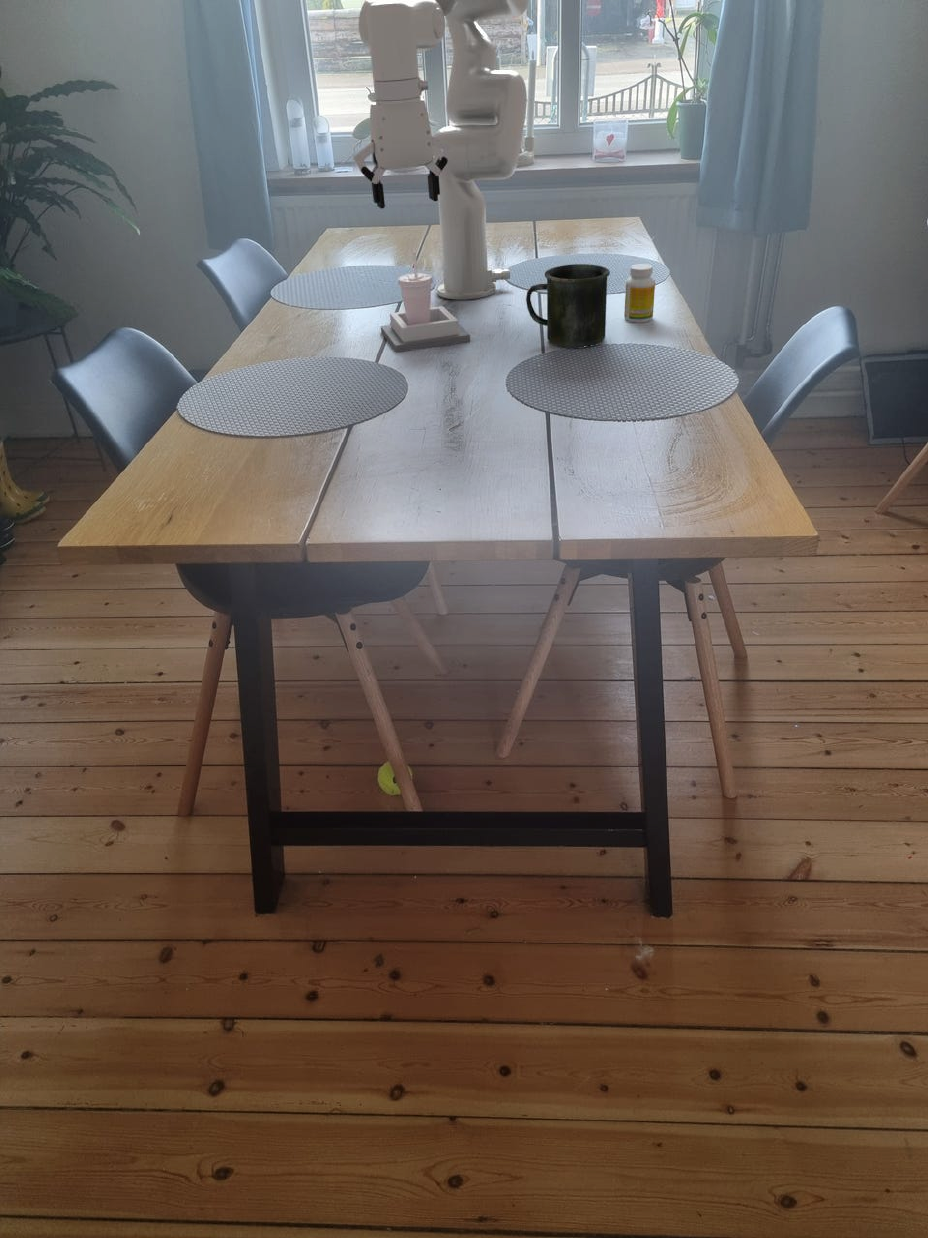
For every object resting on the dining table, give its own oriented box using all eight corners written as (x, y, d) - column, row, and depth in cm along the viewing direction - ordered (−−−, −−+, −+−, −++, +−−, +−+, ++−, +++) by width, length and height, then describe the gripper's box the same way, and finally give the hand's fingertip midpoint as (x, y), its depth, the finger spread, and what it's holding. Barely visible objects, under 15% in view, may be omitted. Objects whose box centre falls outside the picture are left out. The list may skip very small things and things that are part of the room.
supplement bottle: (618, 318, 173) (620, 265, 167) (641, 313, 175) (644, 261, 169) (635, 325, 169) (638, 271, 163) (658, 319, 171) (662, 266, 165)
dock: (451, 322, 176) (449, 302, 174) (470, 341, 166) (469, 320, 164) (381, 332, 174) (379, 312, 172) (396, 352, 163) (394, 331, 161)
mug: (606, 350, 158) (609, 279, 151) (523, 350, 160) (522, 280, 153) (608, 331, 167) (610, 263, 160) (529, 331, 169) (528, 264, 162)
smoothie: (441, 326, 171) (436, 248, 163) (428, 336, 166) (422, 256, 158) (410, 324, 173) (403, 247, 165) (397, 335, 168) (389, 255, 160)
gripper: (440, 84, 154) (448, 193, 164) (341, 95, 150) (355, 205, 160) (454, 88, 148) (460, 200, 158) (351, 98, 144) (364, 213, 154)
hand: (407, 203), depth 159 cm, fingers open, 9 cm apart
